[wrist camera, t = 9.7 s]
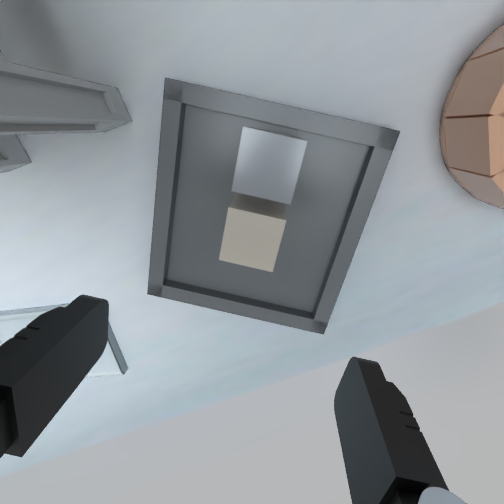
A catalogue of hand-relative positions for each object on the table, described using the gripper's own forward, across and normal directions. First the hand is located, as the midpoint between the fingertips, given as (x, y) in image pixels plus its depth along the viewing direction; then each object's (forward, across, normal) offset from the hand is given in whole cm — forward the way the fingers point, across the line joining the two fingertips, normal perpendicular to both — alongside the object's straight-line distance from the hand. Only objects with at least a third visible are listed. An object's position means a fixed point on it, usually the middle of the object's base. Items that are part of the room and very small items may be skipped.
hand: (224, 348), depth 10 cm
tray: (+15, 0, 0) cm, 15 cm away
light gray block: (+14, 0, -5) cm, 15 cm away
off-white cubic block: (+14, 0, 0) cm, 14 cm away
